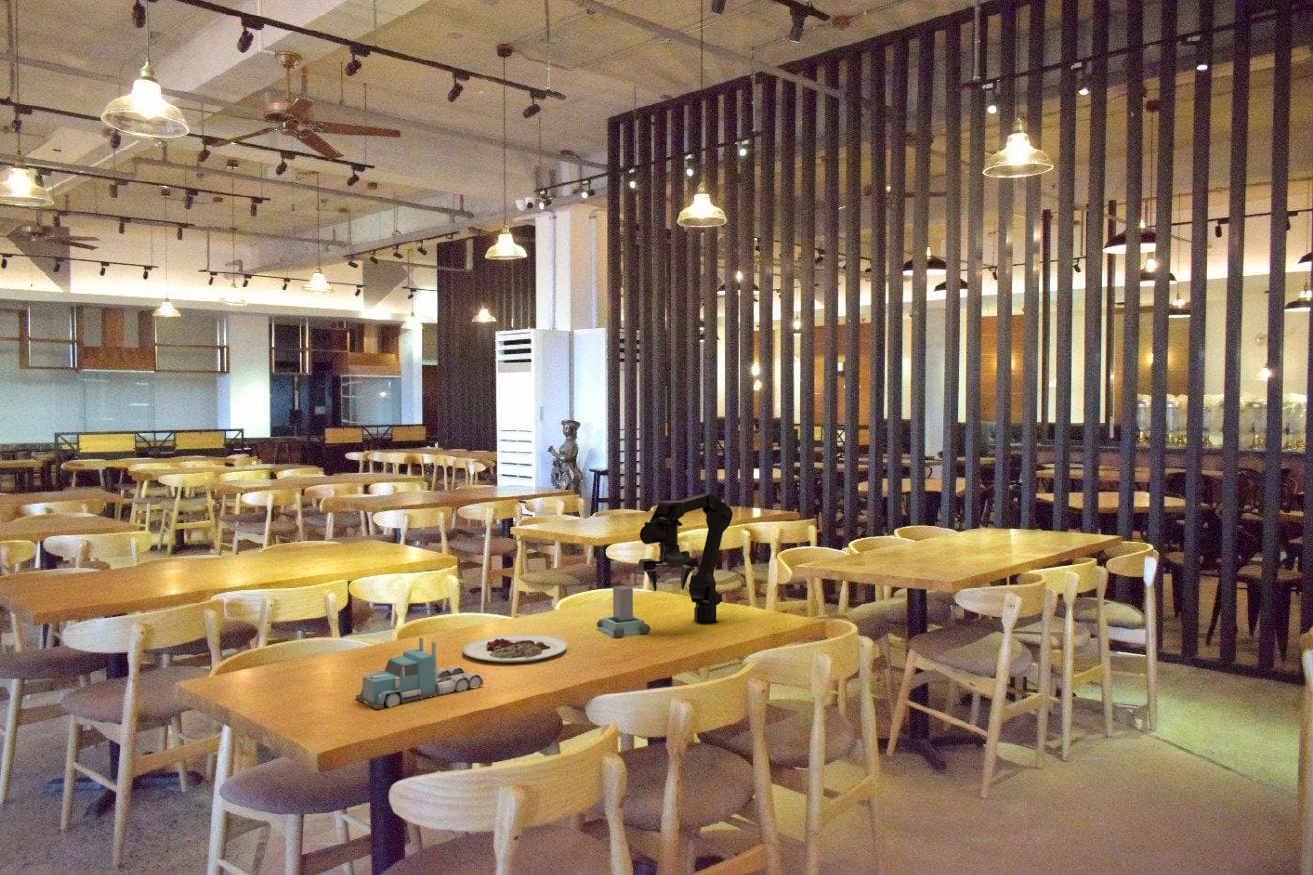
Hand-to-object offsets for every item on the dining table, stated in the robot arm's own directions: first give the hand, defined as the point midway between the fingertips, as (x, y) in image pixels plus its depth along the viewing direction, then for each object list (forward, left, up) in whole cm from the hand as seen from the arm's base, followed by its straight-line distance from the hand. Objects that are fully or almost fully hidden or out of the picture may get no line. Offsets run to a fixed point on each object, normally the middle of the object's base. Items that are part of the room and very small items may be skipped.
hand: (668, 590), depth 304 cm
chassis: (+14, -4, -13) cm, 20 cm away
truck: (+81, +41, -14) cm, 92 cm away
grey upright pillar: (+14, -4, -12) cm, 19 cm away
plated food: (+51, +9, -14) cm, 54 cm away
